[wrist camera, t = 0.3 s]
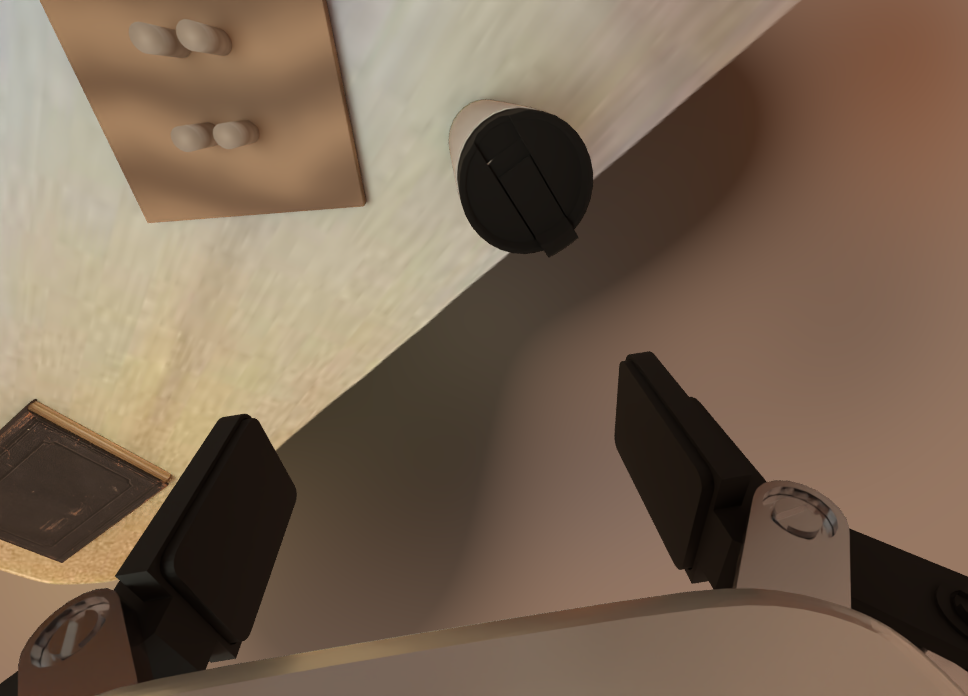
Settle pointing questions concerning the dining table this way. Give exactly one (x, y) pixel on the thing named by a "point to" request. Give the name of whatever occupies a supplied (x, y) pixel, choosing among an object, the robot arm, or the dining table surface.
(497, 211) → the travel mug
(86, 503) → the hardcover book
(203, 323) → the dining table surface
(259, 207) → the peg board
